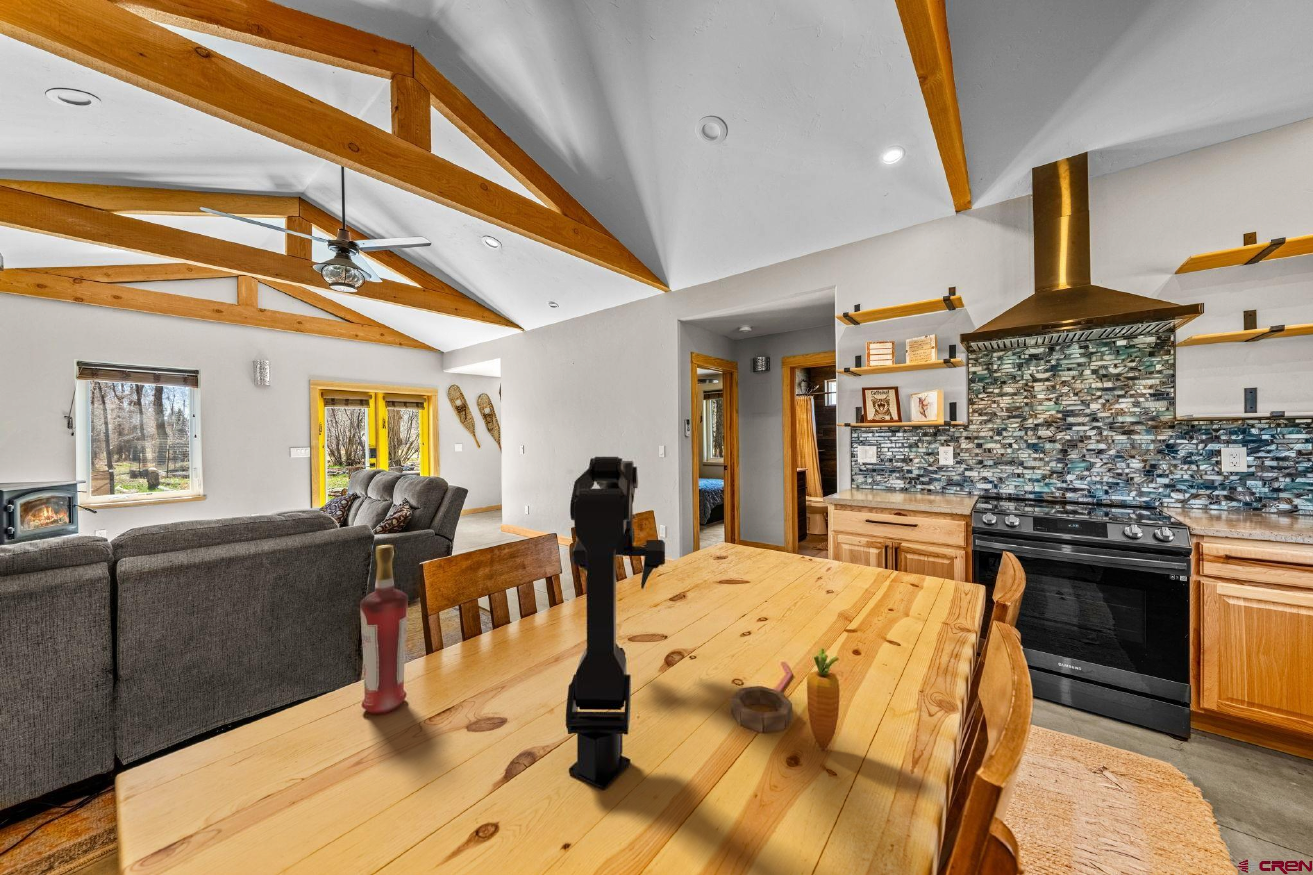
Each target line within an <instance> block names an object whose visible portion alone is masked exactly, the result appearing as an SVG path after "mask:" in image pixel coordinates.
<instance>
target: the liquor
mask: <svg viewBox="0 0 1313 875" xmlns="http://www.w3.org/2000/svg"><path fill="white" fill-rule="evenodd" d="M375 559H376V560H375V561H376V565H377V566H376V575H375V586H374V591H373V592H371V593H369V594H367V595H366V596H365V597H364V598H363V599H362V600H361V601H360V602H359V606H360V607H359V608H360V626H361V628H360V630H361V632H360V633H361V644H362V655H363V657H362V658H363V681H364V682H363V686H364V698H363V700H362V702H361V708H362V709H364V710H366V711H367V712H369V713H371V714H373V715H383V714H387V713H391V712H392V711H394V710H396V709H397V708H398V707H399V706H400V705H401V704H402V703H403V701H405V699H406V698H407V696H408V694H407V692H406V691H405V660H406V641H407V640H406V639H407V627H408V626H407V625H408V607H409V606H408V604H409V595H408V594H407V593H405V592H404V591H402V589H401V590H400V589H397V588H395V582H394V574H393V573H394V572H393V559H394V545H393V544H385V545H384V544H382V545H377V546H376V547H375Z"/></svg>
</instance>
